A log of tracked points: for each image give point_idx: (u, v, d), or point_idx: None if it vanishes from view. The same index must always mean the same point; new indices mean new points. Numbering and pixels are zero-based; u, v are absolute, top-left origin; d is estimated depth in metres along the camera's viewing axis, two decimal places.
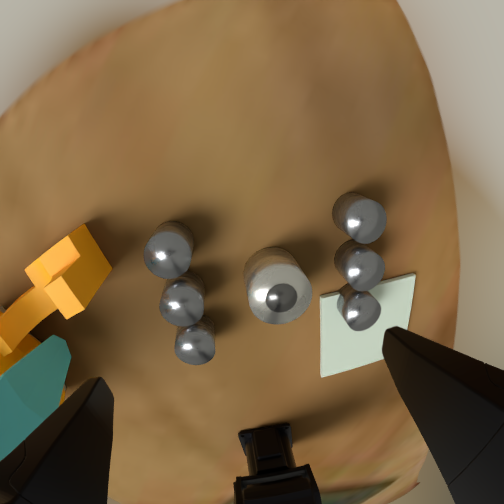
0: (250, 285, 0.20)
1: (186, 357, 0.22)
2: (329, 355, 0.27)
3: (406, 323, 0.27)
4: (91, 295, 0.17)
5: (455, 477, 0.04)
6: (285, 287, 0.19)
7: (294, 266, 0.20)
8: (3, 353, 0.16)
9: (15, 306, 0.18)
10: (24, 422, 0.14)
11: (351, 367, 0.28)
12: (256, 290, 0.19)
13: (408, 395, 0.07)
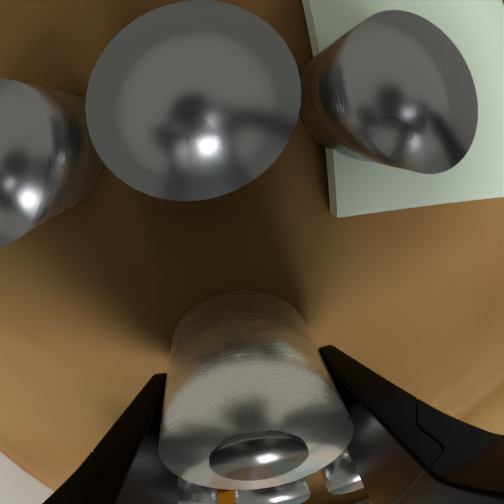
0: None
1: None
2: (497, 176, 0.07)
3: None
4: None
5: None
6: (220, 462, 0.05)
7: (164, 413, 0.05)
8: None
9: None
10: None
11: None
12: (231, 485, 0.06)
13: None
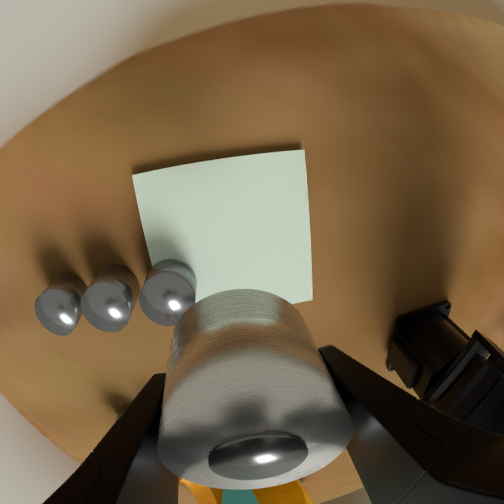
0: None
1: None
2: None
3: (231, 161, 0.16)
4: None
5: None
6: (219, 461, 0.05)
7: (163, 412, 0.05)
8: None
9: (195, 495, 0.25)
10: None
11: (307, 255, 0.18)
12: (230, 485, 0.06)
13: None
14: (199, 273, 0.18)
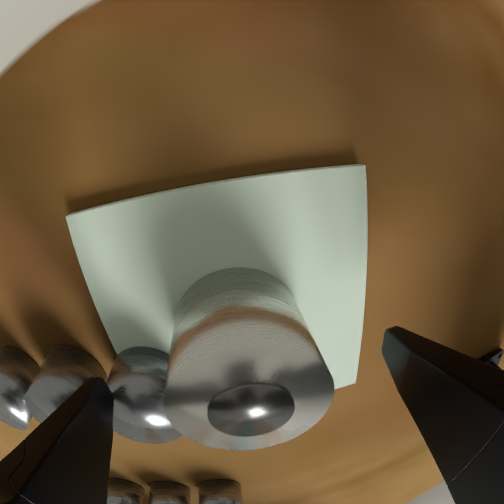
0: None
1: None
2: None
3: (237, 188, 0.09)
4: None
5: (455, 477, 0.04)
6: (216, 412, 0.06)
7: (169, 368, 0.07)
8: None
9: None
10: None
11: (356, 331, 0.11)
12: (227, 444, 0.07)
13: (408, 395, 0.07)
14: None
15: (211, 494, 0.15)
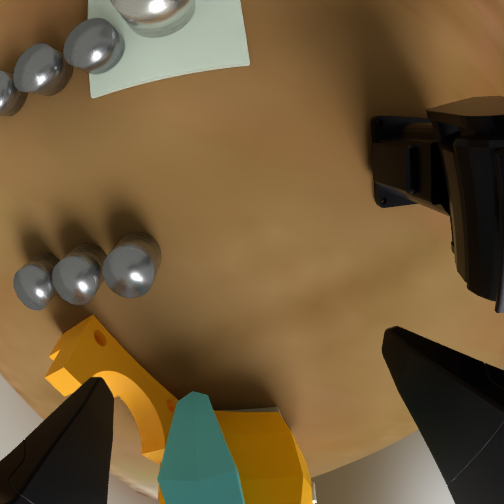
0: (131, 16, 0.10)
1: (140, 285, 0.16)
2: (197, 58, 0.14)
3: None
4: (70, 352, 0.16)
5: (455, 477, 0.04)
6: None
7: None
8: None
9: (137, 422, 0.20)
10: (211, 495, 0.14)
11: (238, 18, 0.13)
12: (132, 7, 0.09)
13: (408, 395, 0.07)
14: (128, 39, 0.13)
15: (123, 240, 0.17)
